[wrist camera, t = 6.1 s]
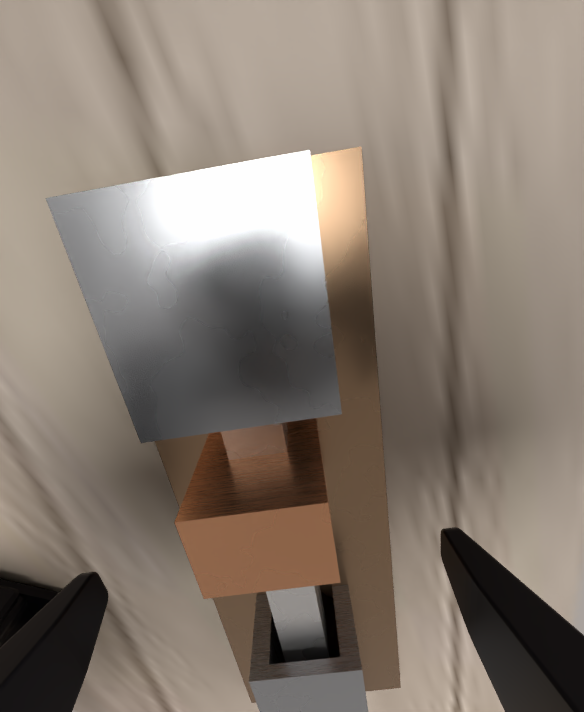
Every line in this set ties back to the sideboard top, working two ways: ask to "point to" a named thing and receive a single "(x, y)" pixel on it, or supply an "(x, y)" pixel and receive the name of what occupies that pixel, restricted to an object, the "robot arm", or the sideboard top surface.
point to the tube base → (256, 371)
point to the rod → (265, 527)
